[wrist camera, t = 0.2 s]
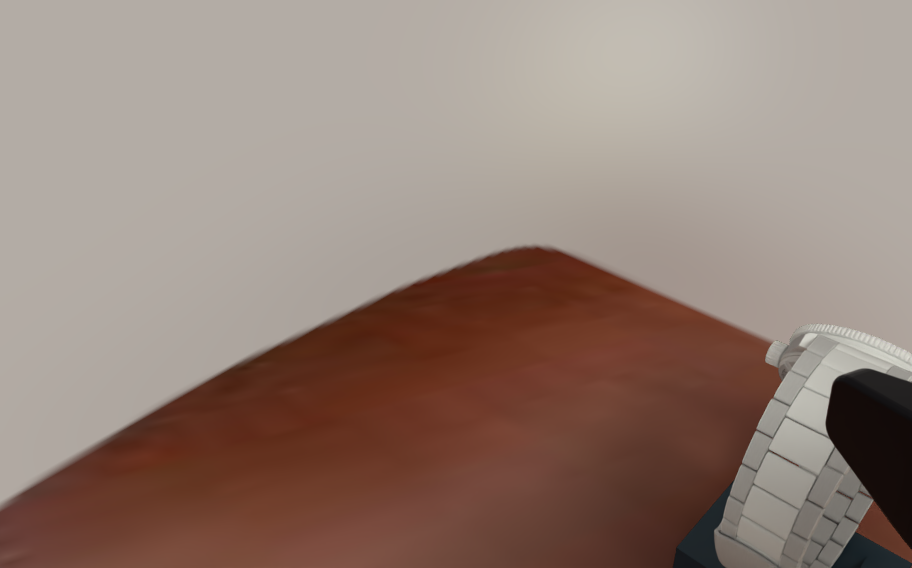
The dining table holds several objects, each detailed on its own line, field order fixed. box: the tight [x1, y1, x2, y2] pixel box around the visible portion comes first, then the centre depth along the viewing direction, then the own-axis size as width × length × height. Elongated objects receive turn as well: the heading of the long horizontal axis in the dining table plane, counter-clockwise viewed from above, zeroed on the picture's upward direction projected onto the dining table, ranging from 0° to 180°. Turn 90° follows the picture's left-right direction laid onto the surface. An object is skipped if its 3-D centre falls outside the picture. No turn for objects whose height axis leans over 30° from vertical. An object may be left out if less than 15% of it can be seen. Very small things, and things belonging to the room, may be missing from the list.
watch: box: [673, 324, 912, 568], centre depth 22 cm, size 6×8×11 cm
